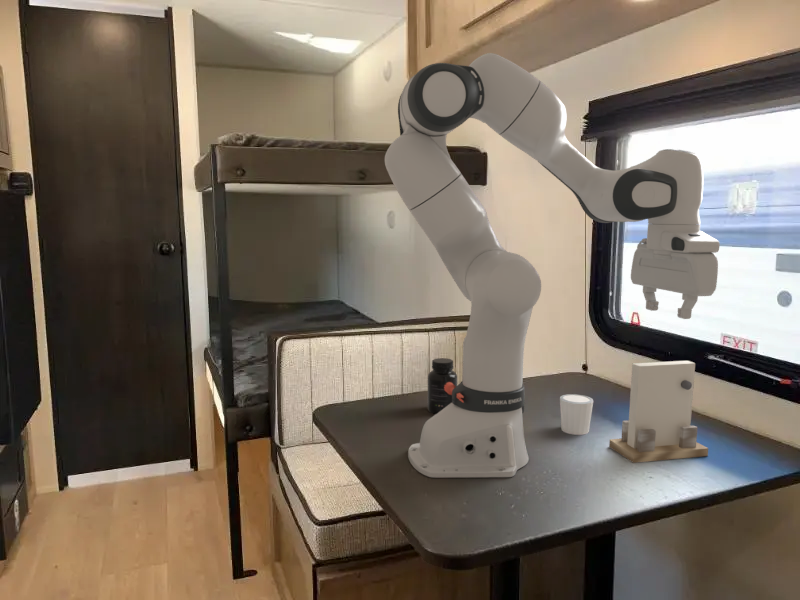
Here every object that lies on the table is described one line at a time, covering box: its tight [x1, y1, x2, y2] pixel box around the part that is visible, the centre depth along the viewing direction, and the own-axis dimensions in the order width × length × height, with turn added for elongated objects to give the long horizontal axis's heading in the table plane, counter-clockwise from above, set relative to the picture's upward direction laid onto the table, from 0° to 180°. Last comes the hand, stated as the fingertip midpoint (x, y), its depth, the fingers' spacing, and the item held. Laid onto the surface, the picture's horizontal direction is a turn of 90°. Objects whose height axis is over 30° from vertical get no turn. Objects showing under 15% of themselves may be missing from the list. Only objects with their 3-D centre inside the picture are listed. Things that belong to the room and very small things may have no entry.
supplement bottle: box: [427, 357, 458, 415], centre depth 142 cm, size 7×7×12 cm
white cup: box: [559, 393, 594, 436], centre depth 131 cm, size 7×7×7 cm
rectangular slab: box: [627, 360, 696, 448], centre depth 118 cm, size 12×3×16 cm, turn 103°
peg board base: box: [608, 419, 709, 464], centre depth 119 cm, size 16×8×6 cm, turn 103°
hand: (667, 314), depth 116 cm, fingers open, 8 cm apart
